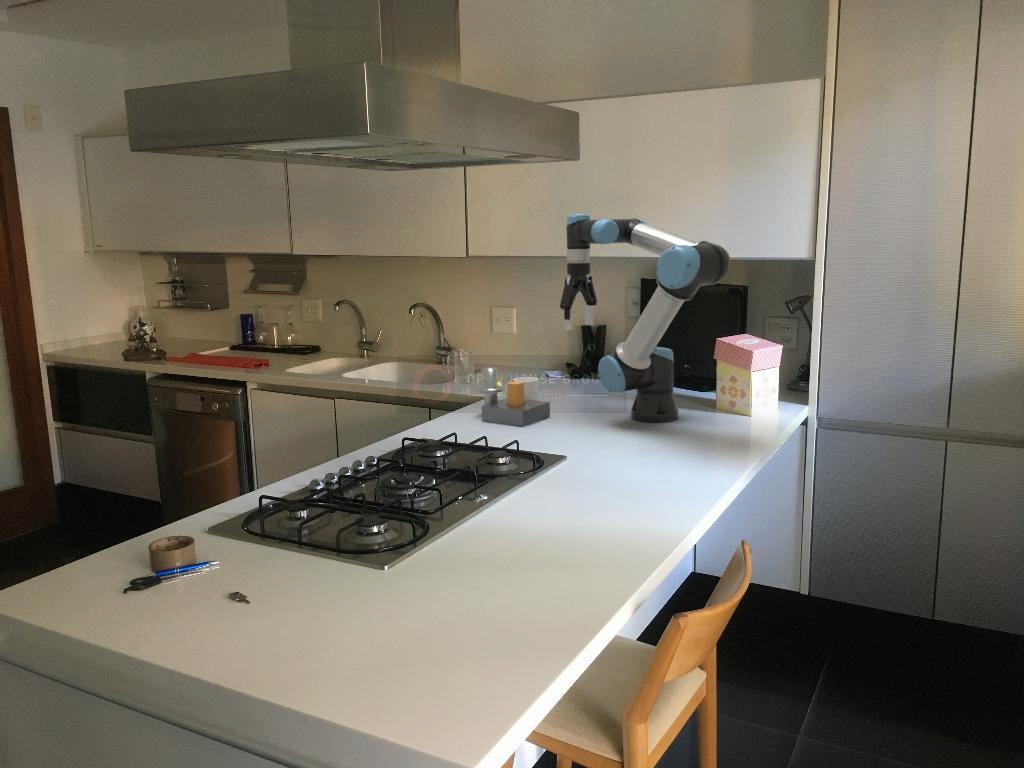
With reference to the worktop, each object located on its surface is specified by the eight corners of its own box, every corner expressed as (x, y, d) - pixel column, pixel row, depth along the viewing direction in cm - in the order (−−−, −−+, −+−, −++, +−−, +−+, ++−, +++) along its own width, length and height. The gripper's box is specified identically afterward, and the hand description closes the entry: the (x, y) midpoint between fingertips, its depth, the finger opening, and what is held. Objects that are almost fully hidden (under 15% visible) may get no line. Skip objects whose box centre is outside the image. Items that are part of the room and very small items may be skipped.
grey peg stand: (549, 416, 274) (549, 368, 271) (522, 426, 262) (521, 376, 259) (495, 409, 287) (494, 363, 284) (466, 418, 274) (465, 370, 271)
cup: (534, 411, 283) (533, 381, 281) (501, 409, 287) (500, 380, 285) (541, 406, 291) (541, 377, 289) (509, 404, 295) (509, 376, 293)
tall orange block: (524, 418, 273) (524, 382, 271) (517, 420, 270) (517, 384, 268) (514, 417, 275) (513, 381, 273) (507, 419, 272) (506, 383, 270)
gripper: (587, 260, 283) (587, 322, 287) (548, 264, 263) (549, 330, 267) (606, 260, 279) (607, 323, 283) (568, 264, 259) (569, 332, 263)
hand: (579, 327), depth 275 cm, fingers open, 13 cm apart
